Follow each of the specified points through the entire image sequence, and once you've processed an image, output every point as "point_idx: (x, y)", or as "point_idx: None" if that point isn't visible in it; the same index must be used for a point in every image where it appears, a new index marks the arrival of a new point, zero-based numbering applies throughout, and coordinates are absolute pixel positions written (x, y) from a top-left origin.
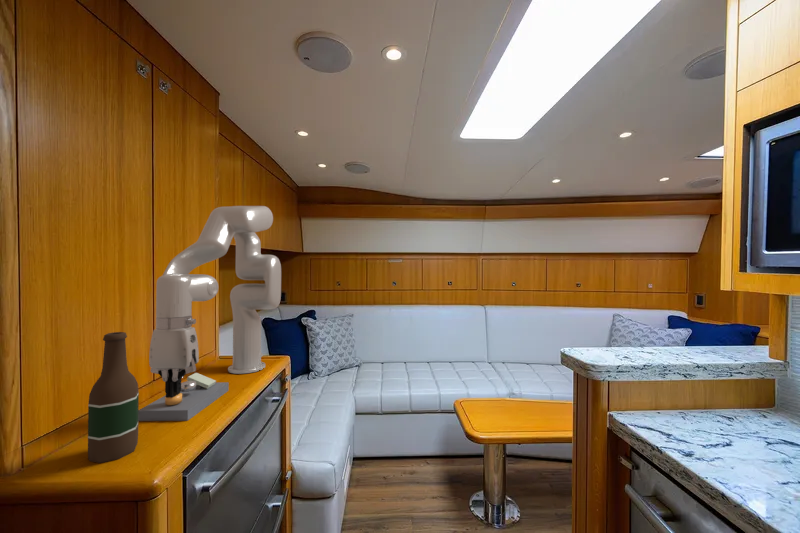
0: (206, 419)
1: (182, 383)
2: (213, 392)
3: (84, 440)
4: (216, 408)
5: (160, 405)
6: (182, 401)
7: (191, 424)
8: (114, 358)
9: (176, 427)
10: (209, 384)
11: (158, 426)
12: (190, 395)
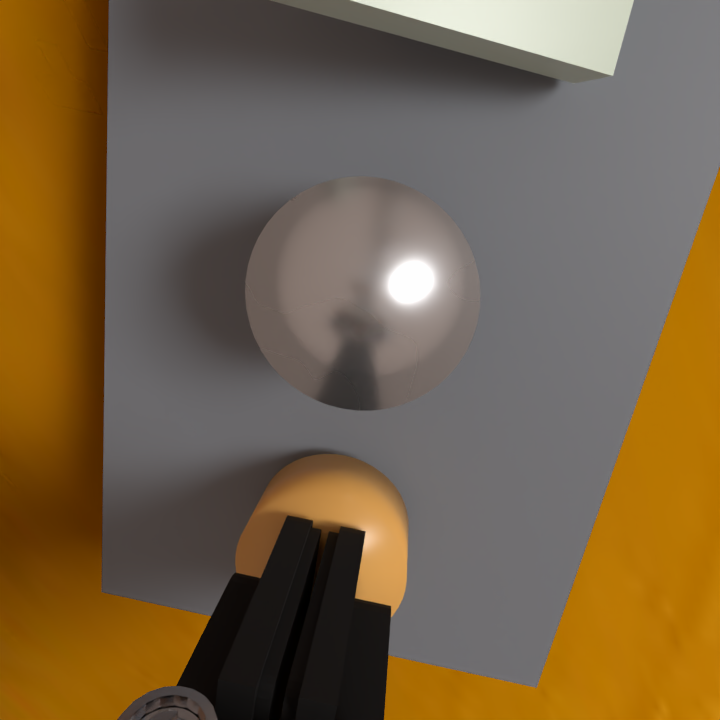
0: (663, 628)
1: (275, 318)
2: (690, 241)
3: (25, 709)
4: (707, 429)
5: (227, 522)
6: (398, 471)
7: (569, 678)
8: None
9: (478, 693)
10: (618, 31)
11: None
12: None
